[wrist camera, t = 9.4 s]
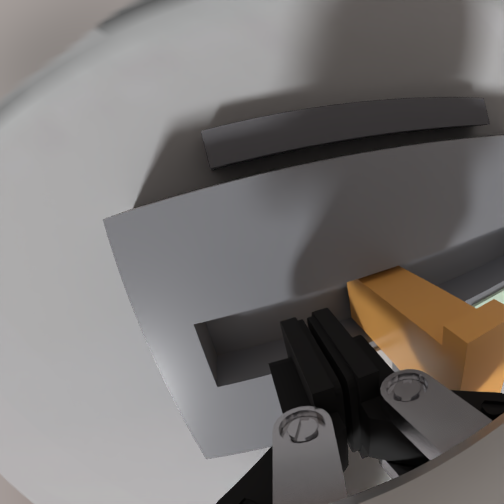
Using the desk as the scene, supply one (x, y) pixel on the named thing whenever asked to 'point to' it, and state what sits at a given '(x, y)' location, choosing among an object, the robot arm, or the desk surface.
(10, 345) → the desk surface
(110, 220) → the block
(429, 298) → the breaker handle
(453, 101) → the rails
